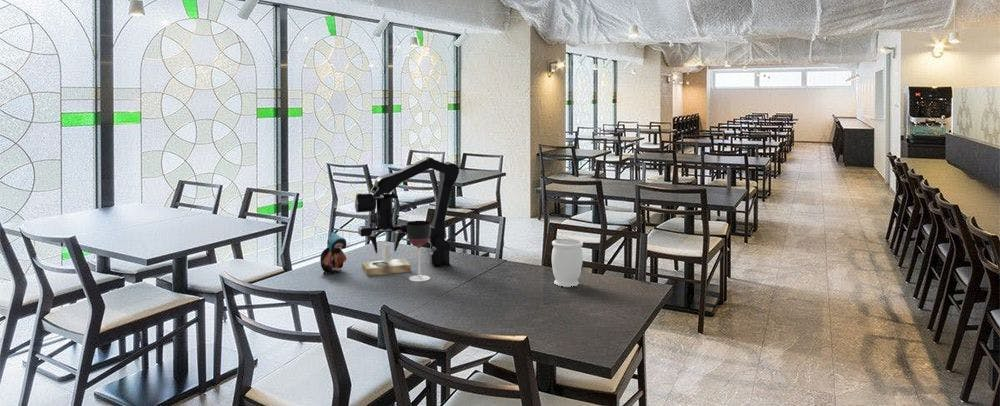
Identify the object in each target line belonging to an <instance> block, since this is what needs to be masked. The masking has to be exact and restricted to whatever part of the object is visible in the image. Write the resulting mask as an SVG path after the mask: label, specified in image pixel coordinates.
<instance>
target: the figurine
mask: <svg viewBox="0 0 1000 406" xmlns="http://www.w3.org/2000/svg"><path fill="white" fill-rule="evenodd" d="M346 240H347V239H346V238H344V237H342V236H340V235H339V234H337V233H336V232H335V231H333V230H332V232H331V233H330V237H329V238H328V239H327V243H326V244H327V245H328V247H326V248H325V249H324V250H322V252H321V254H320V261H319V262H320V267H321V269H322V271H323V272H322V275H324V276H328V275H333V274H337V273H340V272H341V271H342V268H344V263H345V262H346V261H347V259H348V258H347V256H346V254H345V253H344V251H343V250H342V249H346V248H347V241H346Z"/></svg>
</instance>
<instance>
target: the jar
mask: <svg viewBox="0 0 1000 406" xmlns="http://www.w3.org/2000/svg"><path fill="white" fill-rule="evenodd" d="M551 245H552V246H553V248H552V251H551V266H552V274H553V276H554V281H553V283H554V285H555V284H556V285H555V286H557V285H558V286H557V287H561V286H563V288H574V287H573V286H575V287H578V286H579V285H580V282H579V279H580V276H581V271H582V267H583V261H584V258H583V250H582V247H583V246H584V242H583V241H582V240H579V239H574V238H573V239H572V238H560V239H559V238H558V239H554V240H552V241H551ZM578 284H579V285H578ZM571 286H572V287H571Z"/></svg>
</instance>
